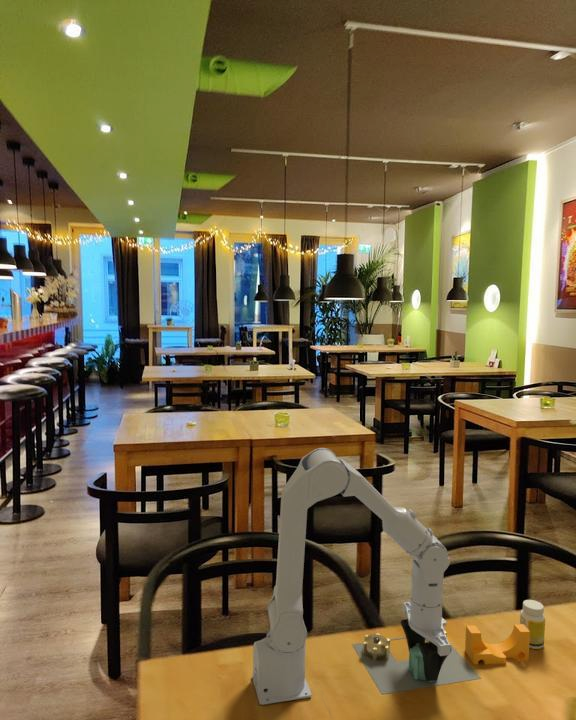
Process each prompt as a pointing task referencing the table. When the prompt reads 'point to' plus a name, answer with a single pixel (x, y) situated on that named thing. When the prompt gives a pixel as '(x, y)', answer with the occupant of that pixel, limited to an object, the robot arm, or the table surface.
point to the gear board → (406, 667)
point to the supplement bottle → (534, 622)
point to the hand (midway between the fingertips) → (423, 668)
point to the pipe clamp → (498, 646)
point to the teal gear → (416, 663)
